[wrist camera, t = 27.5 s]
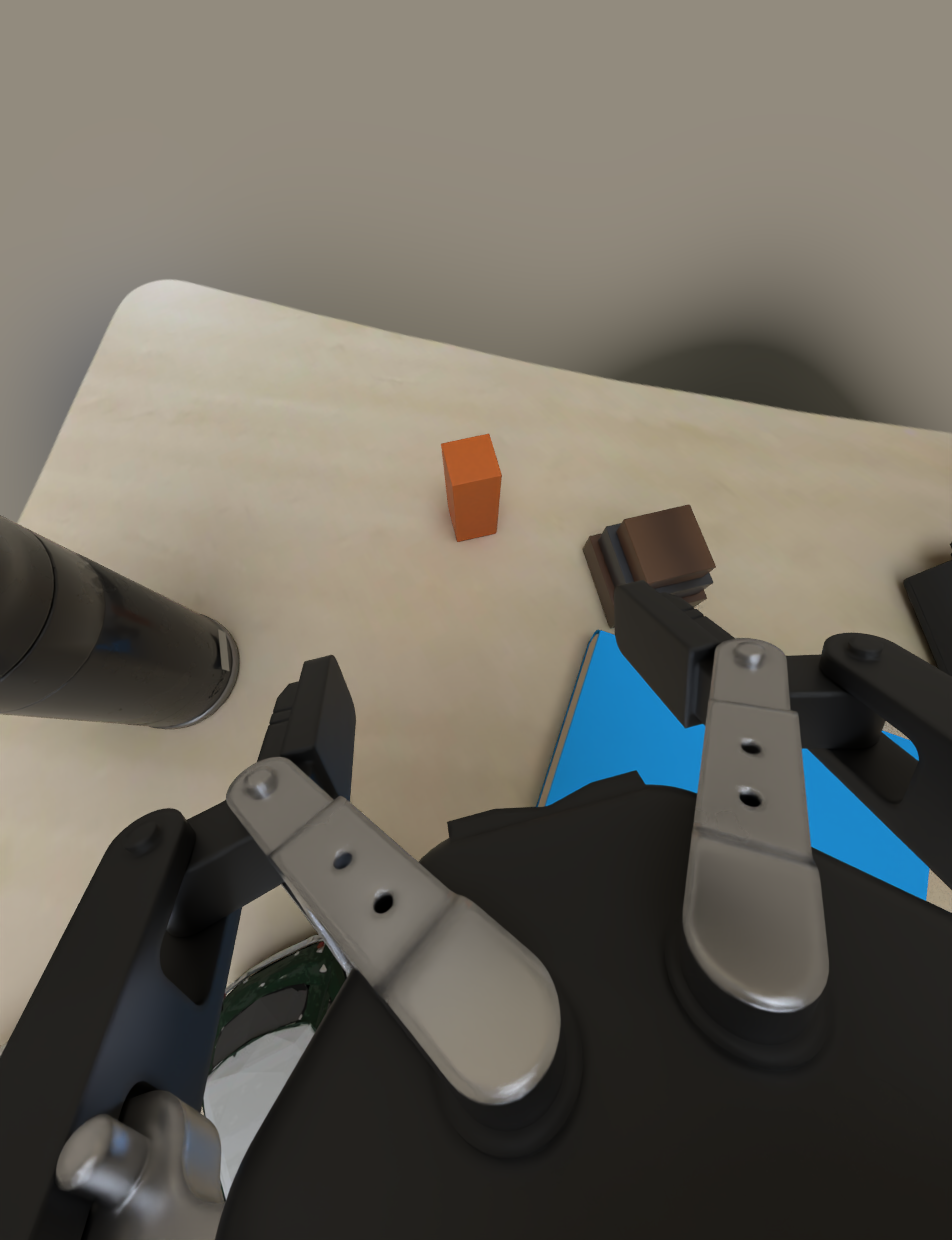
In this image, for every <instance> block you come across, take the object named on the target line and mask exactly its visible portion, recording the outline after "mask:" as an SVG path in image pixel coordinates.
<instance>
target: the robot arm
mask: <svg viewBox="0 0 952 1240" xmlns="http://www.w3.org/2000/svg"><path fill="white" fill-rule="evenodd" d="M614 624H615V638H616V642H617V645H618V648H619V650H620V652H621V653H622V654H623V656H624V657H625V658H626V659H627V660H628V662H629V663H630V664H631V665H632V666H633V667H634V669H635V670H636V671H637V672H638V673H639V675H640V676H641V677H642V678H643V679H644V680H645V682H646V683H647V684H648V685H649V686H650V687H651V689H652V690H653V691H654V692H655V693H656V695H657V696H658V697H659V698H660V699H661V700H662V702H663V703H664V704H665V705H666V706H667V708H668V709H669V710H670V711H671V712H672V713H673V715H674V716H675V717H676V718H677V719H678V721H679V722H680V723H681V724H682V725H683V726H684V728H689V727H693V726H696V725H700V724H704V725H705V734H704V742H703V750H702V758H701V767H700V775H699V783H698V791H697V793H695V792H692V791H689V790H685V789H681V788H677V787H672V786H666V785H654V784H645V783H644V781H643V780H642V778H641V777H640V775H639V773H638V772H637V770H635V771H631V772H627V773H624V774H620V775H617V776H613V777H609V778H606V779H602V780H598V781H595V782H591V783H589V784H587V785H586V786H584V787H582V788H580V789H578V790H576V791H575V792H573V793H571V794H569V795H567V796H566V797H564V798H562V799H560V800H558V801H557V802H555V803H553V804H551V805H549V806H544V807H527V808H504V809H493V810H489V811H485V812H482V813H478V814H474V815H471V816H467V817H463V818H460V819H456V820H452V821H449V822H447V824H448V831H449V838H448V839H447V840H445V841H443V842H441V843H440V844H439V845H437V846H436V847H434V848H433V849H431V850H430V851H429V852H428V853H427V854H426V855H425V856H423V857H422V858H421V859H420V860H419V862H417V861H416V860H415V859H414V858H413V857H412V856H411V855H409V854H408V853H407V852H406V851H405V850H404V849H403V848H401V847H400V846H399V845H398V844H397V843H396V842H395V841H394V840H392V839H391V838H390V837H389V836H388V835H387V834H386V833H384V832H383V831H382V830H381V829H380V828H379V827H378V826H376V825H375V824H374V823H373V822H372V821H371V820H370V819H368V818H367V817H366V816H365V815H364V814H363V813H362V812H360V811H359V810H358V809H357V808H356V807H355V806H354V805H353V804H351V803H350V793H351V779H352V766H353V752H354V739H355V725H356V715H355V708H354V704H353V701H352V698H351V695H350V693H349V690H348V688H347V685H346V683H345V680H344V677H343V675H342V672H341V670H340V667H339V665H338V662H337V660H336V658H335V657H334V656H333V655H329V656H325V657H321V658H317V659H313V660H309V661H305V662H304V664H303V668H302V672H301V675H300V679H299V682H294V683H290V684H288V686H287V687H286V688H285V689H284V690H283V692H282V693H281V694H280V695H279V696H278V698H277V700H276V704H275V707H274V710H273V714H272V716H271V719H270V722H269V723H270V725H269V726H268V729H267V732H266V735H265V738H264V741H263V744H262V747H261V751H260V754H259V757H258V760H257V763H255V764H253V765H251V766H250V767H248V768H247V769H245V770H244V771H243V772H242V773H241V774H239V775H238V776H237V777H236V779H235V780H234V781H233V782H232V784H231V785H230V787H229V789H228V791H227V794H226V800H225V801H223V802H221V803H220V804H218V805H216V806H214V807H212V808H210V809H208V810H206V811H204V812H202V813H200V814H198V815H196V816H194V817H192V818H190V819H188V820H186V819H185V818H184V816H183V815H182V814H181V812H179V811H178V810H176V809H170V808H167V809H161V810H157V811H154V812H151V813H149V814H147V815H145V816H143V817H141V818H139V819H137V820H136V821H135V822H133V823H132V824H130V825H129V826H128V827H126V828H125V829H124V830H123V831H122V832H121V833H120V834H119V835H118V836H117V837H116V838H115V839H114V840H113V841H112V843H111V844H110V845H109V847H108V849H107V850H106V852H105V854H104V856H103V858H102V860H101V862H100V864H99V866H98V867H97V869H96V871H95V873H94V875H93V877H92V879H91V881H90V883H89V885H88V887H87V889H86V891H85V893H84V895H83V897H82V899H81V901H80V903H79V904H78V906H77V908H76V910H75V912H74V914H73V916H72V918H71V920H70V922H69V924H68V926H67V928H66V930H65V932H64V934H63V936H62V938H61V939H60V941H59V943H58V945H57V947H56V949H55V951H54V953H53V955H52V957H51V959H50V961H49V963H48V965H47V967H46V969H45V971H44V973H43V975H42V976H41V978H40V980H39V982H38V984H37V986H36V988H35V990H34V992H33V994H32V996H31V998H30V1000H29V1002H28V1004H27V1006H26V1008H25V1010H24V1011H23V1013H22V1015H21V1017H20V1019H19V1021H18V1023H17V1025H16V1027H15V1029H14V1031H13V1033H12V1035H11V1037H10V1039H9V1041H8V1043H7V1045H6V1047H5V1048H4V1050H3V1052H2V1054H1V1056H0V1240H952V913H951V912H948V911H946V910H944V909H942V908H940V907H938V906H936V905H934V904H931V903H929V902H927V901H925V900H923V899H921V898H919V897H917V896H915V895H912V894H910V893H908V892H906V891H904V890H902V889H900V888H898V887H895V886H893V885H891V884H889V883H887V882H885V881H883V880H881V879H879V878H876V877H874V876H872V875H870V874H868V873H866V872H864V871H862V870H860V869H857V868H855V867H853V866H851V865H849V864H847V863H845V862H843V861H840V860H838V859H836V858H834V857H832V856H830V855H828V854H826V853H824V852H821V851H819V850H817V849H815V848H813V847H811V841H810V830H809V820H808V809H807V799H806V789H805V778H804V768H803V758H802V749H808V750H809V751H810V752H811V753H812V754H813V755H814V756H815V757H816V758H817V759H818V760H819V761H820V762H821V763H822V764H823V765H824V766H825V767H826V768H827V769H828V770H829V771H830V772H831V773H833V774H834V775H835V776H836V777H837V778H838V779H839V780H840V781H841V782H842V783H843V784H844V785H845V786H846V787H847V788H848V789H849V790H850V791H851V792H852V793H853V794H854V795H855V796H856V797H857V798H858V799H859V800H860V801H861V802H862V803H863V804H864V805H865V806H866V807H867V808H868V809H869V810H870V811H871V812H872V813H873V814H874V815H875V816H877V817H878V818H879V819H880V820H881V821H882V822H883V823H884V824H885V825H886V826H887V827H888V828H889V829H890V830H891V831H892V832H893V833H894V834H895V835H896V836H897V837H898V838H899V839H900V840H901V841H902V842H903V843H904V844H905V845H906V846H907V847H908V848H909V849H910V850H911V851H912V852H913V853H914V854H915V855H916V856H917V857H918V858H920V859H921V860H922V861H923V862H924V863H925V864H926V865H927V866H928V867H929V868H930V869H931V870H932V871H933V872H934V873H935V874H936V875H937V876H938V877H939V878H940V879H941V880H942V881H943V882H944V883H945V884H946V885H947V886H948V887H949V888H950V889H951V890H952V676H950V675H948V674H947V673H945V672H943V671H941V670H940V669H938V668H936V667H934V666H933V665H931V664H929V663H928V662H926V661H924V660H922V659H921V658H919V657H917V656H916V655H914V654H912V653H910V652H909V651H907V650H905V649H903V648H902V647H900V646H898V645H897V644H895V643H893V642H891V641H889V640H886V639H884V638H881V637H877V636H873V635H869V634H862V633H842V634H837V635H833V636H831V637H829V638H828V639H826V641H825V642H824V646H823V650H822V654H821V655H799V656H785V654H784V653H783V652H782V651H781V650H780V649H779V648H778V647H776V646H774V645H773V644H770V643H768V642H765V641H762V640H757V639H751V638H736V639H735V638H734V637H732V636H731V635H730V634H729V633H727V632H726V631H725V630H723V629H722V628H721V627H719V626H718V625H717V624H715V623H714V622H713V621H711V620H710V619H709V618H707V617H706V616H705V617H704V616H703V614H702V613H701V612H699V611H698V610H697V609H694V607H693V606H692V605H690V604H689V603H688V602H686V601H685V600H684V599H682V598H680V597H677V596H675V595H672V594H669V593H666V592H662V593H659V592H658V591H657V590H655V589H654V588H653V587H652V586H650V585H649V584H648V583H647V582H645V581H644V580H639V581H635V582H631V583H627V584H623V585H619V586H616V587H615V589H614ZM238 668H239V656H238V650H237V647H236V644H235V641H234V639H233V638H232V636H231V634H230V633H229V632H228V630H227V629H226V628H225V627H224V626H222V625H221V624H220V623H218V622H217V621H215V620H213V619H211V618H209V617H207V616H204V615H202V614H198V613H196V612H194V611H192V610H190V609H188V608H186V607H185V606H183V605H181V604H178V603H176V602H174V601H172V600H170V599H168V598H166V597H164V596H162V595H160V594H158V593H156V592H154V591H152V590H150V589H148V588H146V587H144V586H142V585H140V584H138V583H136V582H134V581H132V580H130V579H128V578H126V577H124V576H122V575H120V574H118V573H116V572H114V571H112V570H110V569H108V568H106V567H104V566H102V565H100V564H98V563H96V562H94V561H92V560H90V559H88V558H86V557H84V556H82V555H80V554H78V553H75V552H73V551H71V550H69V549H67V548H65V547H63V546H61V545H59V544H57V543H55V542H53V541H51V540H49V539H47V538H45V537H43V536H41V535H39V534H37V533H35V532H33V531H31V530H29V529H27V528H24V527H23V526H21V525H19V524H17V523H15V522H13V521H11V520H9V519H7V518H5V517H3V516H1V515H0V714H3V715H15V716H28V717H41V718H54V719H66V720H79V721H92V722H104V723H117V724H128V725H140V726H149V727H153V728H161V729H178V728H184V727H188V726H191V725H194V724H196V723H198V722H200V721H202V720H204V719H205V718H207V717H208V716H210V715H211V714H212V713H214V712H215V711H216V710H217V709H218V708H219V707H220V706H221V705H222V704H223V703H224V701H225V700H226V699H227V697H228V696H229V694H230V693H231V691H232V689H233V687H234V684H235V682H236V678H237V674H238ZM885 721H887V722H888V723H890V724H891V725H892V726H894V727H895V728H896V729H898V730H899V731H900V732H902V733H903V734H904V735H905V736H907V737H908V738H909V739H910V740H911V741H912V743H913V744H914V746H915V747H916V750H917V752H918V756H919V761H918V760H917V759H915V758H914V757H913V756H911V755H910V754H909V753H908V752H906V751H905V750H904V749H903V748H901V747H900V746H899V745H897V744H896V743H895V742H894V741H892V740H891V739H890V738H889V737H887V736H886V735H885V734H883V733H882V729H883V726H884V724H885ZM280 884H281V885H282V887H283V888H284V889H285V891H286V892H287V893H288V895H289V896H290V897H291V899H292V900H293V901H294V903H295V904H296V905H297V906H298V908H299V909H300V910H301V912H302V913H303V914H304V916H305V917H306V918H307V920H308V921H309V922H310V924H311V925H312V926H313V928H314V929H315V930H316V932H317V933H318V934H319V935H320V937H321V938H322V939H323V941H324V942H325V944H326V945H327V946H328V948H329V949H330V951H331V952H332V953H333V955H334V956H335V958H336V959H337V961H338V962H339V963H340V965H341V966H342V967H343V969H344V970H345V972H346V973H347V974H348V977H347V978H346V980H345V982H344V983H343V985H342V987H341V989H340V990H339V992H338V994H337V995H336V997H335V999H334V1001H333V1002H332V1004H331V1006H330V1008H329V1009H328V1011H327V1013H326V1014H325V1016H324V1018H323V1020H322V1021H321V1023H320V1025H319V1026H318V1028H317V1030H316V1032H315V1033H314V1035H313V1037H312V1038H311V1040H310V1042H309V1044H308V1045H307V1047H306V1049H305V1051H304V1052H303V1054H302V1056H301V1057H300V1059H299V1061H298V1063H297V1064H296V1066H295V1068H294V1069H293V1071H292V1073H291V1075H290V1076H289V1078H288V1080H287V1082H286V1083H285V1085H284V1087H283V1088H282V1090H281V1092H280V1094H279V1095H278V1097H277V1099H276V1100H275V1102H274V1104H273V1106H272V1107H271V1109H270V1111H269V1113H268V1114H267V1116H266V1118H265V1119H264V1121H263V1123H262V1125H261V1126H260V1128H259V1130H258V1131H257V1133H256V1135H255V1137H254V1138H253V1140H252V1142H251V1144H250V1146H249V1148H248V1149H247V1151H246V1153H245V1155H244V1157H243V1159H242V1161H241V1164H240V1166H239V1168H238V1170H237V1173H236V1175H235V1177H234V1180H233V1182H232V1185H231V1187H230V1190H229V1193H228V1196H227V1199H226V1202H225V1201H224V1199H223V1194H222V1190H221V1181H220V1170H221V1153H222V1151H221V1140H220V1136H219V1133H218V1130H217V1128H216V1126H215V1125H214V1124H213V1123H212V1121H211V1120H209V1119H208V1118H206V1117H205V1116H204V1115H202V1114H201V1108H202V1103H203V1098H204V1093H205V1088H206V1083H207V1078H208V1073H209V1068H210V1063H211V1058H212V1053H213V1048H214V1043H215V1039H216V1034H217V1029H218V1024H219V1019H220V1014H221V1009H222V1004H223V999H224V994H225V989H226V984H227V979H228V974H229V969H230V964H231V960H232V955H233V950H234V945H235V940H236V935H237V930H238V925H239V920H240V915H241V910H242V907H243V906H244V905H246V904H248V903H250V902H251V901H253V900H255V899H256V898H258V897H260V896H262V895H263V894H265V893H267V892H268V891H270V890H272V889H273V888H275V887H277V886H279V885H280Z"/></svg>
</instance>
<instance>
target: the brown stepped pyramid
mask: <svg viewBox="0 0 952 1240" xmlns="http://www.w3.org/2000/svg"><path fill="white" fill-rule="evenodd" d="M583 551H584V554H585V557H586V560H587V562H588V565H589V568H590V571H591V574H592V577H593V580H594V583H595V586H596V589H597V592H598V595H599V598H600V601H601V604H602V606H603V609H604V612H605V615H606V618H607V621H608V624H609V627H610V628H613V627H615V624H614V589H615V587H616V586H619V585H623V584H627V583H631V582H635V581H639V580H644V581H645V582H647V583H648V584H649V585H650V586H652V587H653V588H654V589H655V590H657V591H658V592H659V593H662V592H666V593H669V594H672V595H675V596H677V597H680V598H682V599H684V600H685V601H686V602H688V603H689V604H690V605H692V606H693V607H695V606H696V605H698V604H699V603H701V602H702V601H704V600H705V599H707V597H706V594H705V592H704V589H705V588H707V587H708V586H709V585H711V584H712V583H713V581H712V578H711V576H710V573H709V572H710V571H711V570H713V569H714V568H715V567H716V566H715V563H714V561H713V559H712V556H711V554H710V551H709V549H708V547H707V544H706V542H705V540H704V537H703V535H702V533H701V530H700V528H699V525H698V523H697V521H696V518H695V516H694V514H693V511H692V509H691V506H690V505H685V506H680V507H676V508H672V509H667V510H663V511H659V512H654V513H650V514H646V515H641V516H637V517H633V518H628V519H624V520H623V522H622V523H620V524H616V525H612V526H607V527H606V528H605V529H604V531H603V533H602V534H598V535H594V536H590V537H589V538H588V540H587V542H586V544H585V546H584V548H583Z"/></svg>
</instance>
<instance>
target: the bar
mask: <svg viewBox="0 0 952 1240" xmlns="http://www.w3.org/2000/svg"><path fill="white" fill-rule="evenodd" d="M441 448H442V457H443V465H444V474H445V483H446V492H447V500H448V508H449V512H450V516H451V520H452V524H453V527H454V531H455V535H456V539H457V542H459V541H464V540H468V539H473V538H477V537H481V536H486V535H490V534H495V533H496V531H497V520H498V510H499V499H500V488H501V477H502V475H501V471H500V468H499V465H498V461H497V458H496V455H495V451H494V448H493V445H492V441H491V438H490V435H489V434H485V435H480V436H476V437H471V438H466V439H461V440H457V441H452V442H447V443H442V444H441Z"/></svg>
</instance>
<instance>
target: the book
mask: <svg viewBox="0 0 952 1240" xmlns="http://www.w3.org/2000/svg"><path fill="white" fill-rule="evenodd" d="M882 733H883V734H885V735H886V736H887V737H889V738H890V739H891V740H892V741H894V742H895V743H896V744H897V745H899V746H900V747H901V748H903V749H904V750H905V751H906V752H908V753H909V754H910V755H911V756H913V757H914V758H915V759H917V760H918V761H919V756H918V752H917V750H916V747H915V746H914V744H913V743H912V741H910V740H907V739H905V738H902V737H899V736H896V735H893V734H891V733H888V732H885V731H882ZM704 734H705V725H704V724H700V725H696V726H693V727H689V728H684V726H683V725H682V724H681V723H680V722H679V721H678V719H677V718H676V717H675V716H674V715H673V713H672V712H671V711H670V710H669V709H668V708H667V706H666V705H665V704H664V703H663V702H662V700H661V699H660V698H659V697H658V696H657V695H656V693H655V692H654V691H653V690H652V689H651V687H650V686H649V685H648V684H647V683H646V682H645V680H644V679H643V678H642V677H641V676H640V675H639V673H638V672H637V671H636V670H635V669H634V667H633V666H632V665H631V664H630V663H629V662H628V660H627V659H626V658H625V657H624V656H623V654H622V653H621V652H620V650H619V648H618V645H617V642H616V638H615V635H613V634H610V633H607V632H605V631H602V630H601V631H600V630H597V631H596V632H595V633H594V634H593V636H592V638H591V640H590V641H589V643H588V646H587V649H586V652H585V655H584V658H583V661H582V665H581V668H580V671H579V674H578V677H577V680H576V683H575V686H574V690H573V693H572V696H571V699H570V702H569V705H568V708H567V712H566V715H565V718H564V721H563V724H562V727H561V730H560V733H559V737H558V740H557V743H556V746H555V749H554V752H553V755H552V759H551V762H550V765H549V768H548V771H547V774H546V777H545V780H544V784H543V787H542V790H541V793H540V796H539V799H538V802H537V806H536V807H544V806H549V805H551V804H553V803H555V802H557V801H558V800H560V799H562V798H564V797H566V796H567V795H569V794H571V793H573V792H575V791H576V790H578V789H580V788H582V787H584V786H586V785H587V784H589V783H591V782H595V781H598V780H602V779H606V778H609V777H613V776H617V775H620V774H624V773H627V772H631V771H635V770H637V772H638V773H639V775H640V777H641V778H642V780H643V781H644V783H645V784H654V785H666V786H672V787H677V788H681V789H685V790H689V791H692V792H695V793H697V791H698V783H699V775H700V767H701V758H702V750H703V742H704ZM802 758H803V768H804V778H805V789H806V799H807V809H808V820H809V830H810V841H811V847H813V848H815V849H817V850H819V851H821V852H824V853H826V854H828V855H830V856H832V857H834V858H836V859H838V860H840V861H843V862H845V863H847V864H849V865H851V866H853V867H855V868H857V869H860V870H862V871H864V872H866V873H868V874H870V875H872V876H874V877H876V878H879V879H881V880H883V881H885V882H887V883H889V884H891V885H893V886H895V887H898V888H900V889H902V890H904V891H906V892H908V893H910V894H912V895H915V896H917V897H919V898H921V899H923V900H925V901H926V896H927V886H928V876H929V867H928V866H927V865H926V864H925V863H924V862H923V861H922V860H921V859H920V858H918V857H917V856H916V855H915V854H914V853H913V852H912V851H911V850H910V849H909V848H908V847H907V846H906V845H905V844H904V843H903V842H902V841H901V840H900V839H899V838H898V837H897V836H896V835H895V834H894V833H893V832H892V831H891V830H890V829H889V828H888V827H887V826H886V825H885V824H884V823H883V822H882V821H881V820H880V819H879V818H878V817H877V816H875V815H874V814H873V813H872V812H871V811H870V810H869V809H868V808H867V807H866V806H865V805H864V804H863V803H862V802H861V801H860V800H859V799H858V798H857V797H856V796H855V795H854V794H853V793H852V792H851V791H850V790H849V789H848V788H847V787H846V786H845V785H844V784H843V783H842V782H841V781H840V780H839V779H838V778H837V777H836V776H835V775H834V774H833V773H831V772H830V771H829V770H828V769H827V768H826V767H825V766H824V765H823V764H822V763H821V762H820V761H819V760H818V759H817V758H816V757H815V756H814V755H813V754H812V753H811V752H810V751H809V750H808V749H802Z"/></svg>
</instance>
